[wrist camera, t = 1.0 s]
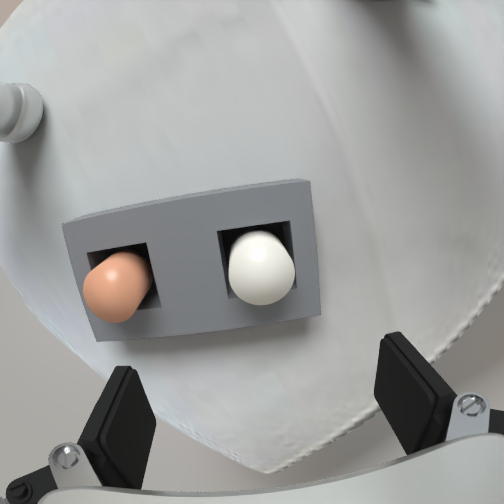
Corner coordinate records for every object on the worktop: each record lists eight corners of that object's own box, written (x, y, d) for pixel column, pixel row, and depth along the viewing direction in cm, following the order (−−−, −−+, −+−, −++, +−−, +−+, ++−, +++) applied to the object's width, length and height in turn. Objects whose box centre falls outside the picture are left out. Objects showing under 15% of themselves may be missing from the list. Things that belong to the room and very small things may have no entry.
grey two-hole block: (297, 178, 29) (310, 180, 24) (308, 293, 32) (320, 314, 27) (84, 215, 29) (61, 224, 24) (112, 319, 32) (96, 341, 27)
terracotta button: (146, 245, 26) (128, 262, 22) (157, 295, 28) (144, 320, 23) (99, 253, 26) (76, 270, 21) (112, 300, 28) (93, 324, 23)
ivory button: (281, 225, 27) (291, 238, 22) (286, 277, 28) (297, 299, 23) (225, 233, 26) (223, 248, 22) (234, 285, 28) (234, 309, 23)
